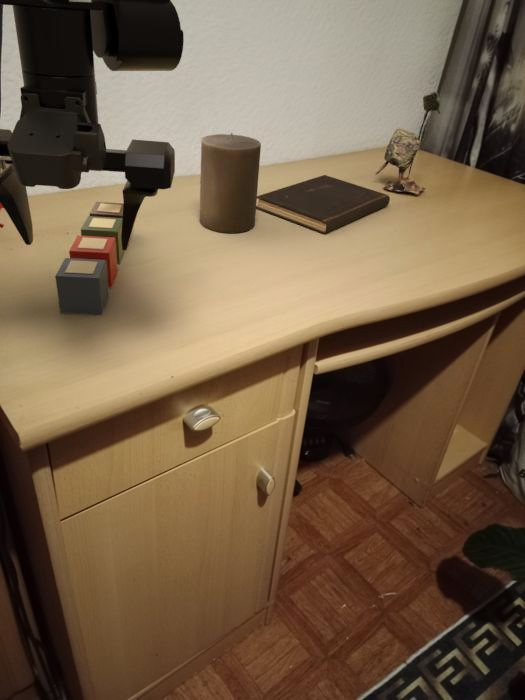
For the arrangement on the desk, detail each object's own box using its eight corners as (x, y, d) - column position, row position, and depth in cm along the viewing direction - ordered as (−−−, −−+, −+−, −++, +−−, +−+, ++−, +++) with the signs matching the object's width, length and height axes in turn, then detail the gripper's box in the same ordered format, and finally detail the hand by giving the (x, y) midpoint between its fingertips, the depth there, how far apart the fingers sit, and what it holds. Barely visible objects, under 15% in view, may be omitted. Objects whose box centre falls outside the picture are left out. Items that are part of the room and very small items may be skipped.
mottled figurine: (384, 178, 125) (405, 84, 114) (429, 192, 120) (456, 94, 109) (367, 185, 120) (387, 86, 109) (413, 199, 114) (440, 97, 103)
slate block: (59, 313, 65) (54, 275, 63) (69, 293, 70) (65, 256, 67) (102, 315, 66) (99, 277, 63) (109, 295, 70) (106, 259, 67)
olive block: (84, 262, 77) (80, 228, 74) (90, 247, 81) (87, 215, 78) (119, 264, 77) (117, 230, 75) (124, 249, 82) (123, 217, 79)
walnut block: (92, 245, 82) (89, 212, 79) (98, 232, 86) (95, 200, 83) (125, 247, 82) (124, 214, 79) (130, 234, 86) (128, 203, 84)
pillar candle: (254, 235, 91) (263, 142, 82) (196, 231, 90) (198, 137, 82) (254, 214, 99) (262, 128, 90) (200, 210, 98) (203, 122, 90)
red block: (73, 285, 71) (68, 250, 68) (81, 268, 75) (77, 234, 72) (111, 287, 72) (109, 252, 69) (117, 270, 76) (115, 236, 73)
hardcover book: (254, 208, 101) (256, 196, 100) (322, 185, 117) (324, 174, 116) (325, 235, 94) (327, 222, 92) (388, 206, 109) (390, 195, 108)
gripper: (-110, 76, 37) (-56, 278, 46) (164, 99, 39) (166, 290, 48) (-45, 55, 46) (-10, 228, 55) (175, 76, 48) (175, 239, 57)
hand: (77, 246), depth 54 cm, fingers open, 9 cm apart
